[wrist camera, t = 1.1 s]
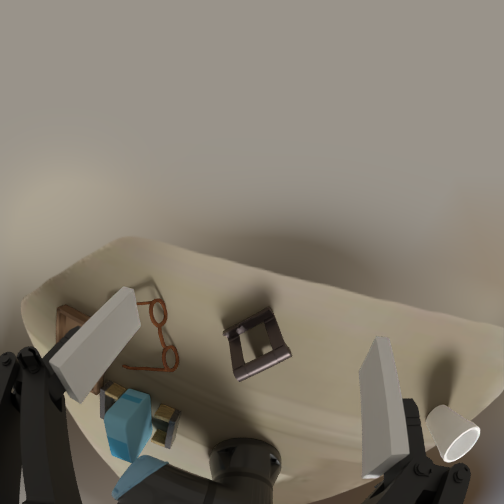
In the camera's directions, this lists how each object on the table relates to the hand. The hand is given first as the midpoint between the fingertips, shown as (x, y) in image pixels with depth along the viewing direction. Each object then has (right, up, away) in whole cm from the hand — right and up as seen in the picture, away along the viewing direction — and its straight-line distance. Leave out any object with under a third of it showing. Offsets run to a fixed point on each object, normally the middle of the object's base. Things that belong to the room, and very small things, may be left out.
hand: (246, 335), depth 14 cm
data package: (-23, -29, +34) cm, 50 cm away
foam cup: (+43, -33, +30) cm, 62 cm away
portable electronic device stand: (+1, -10, +31) cm, 33 cm away
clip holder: (-23, -29, +33) cm, 50 cm away
